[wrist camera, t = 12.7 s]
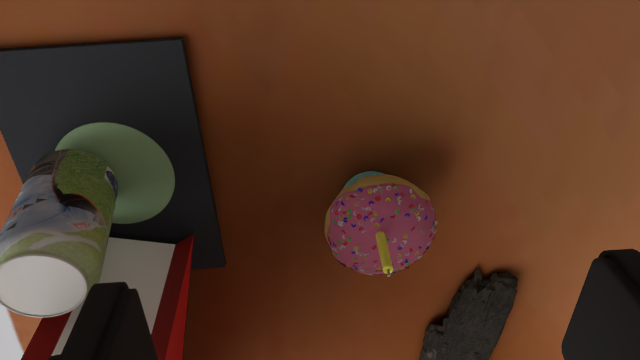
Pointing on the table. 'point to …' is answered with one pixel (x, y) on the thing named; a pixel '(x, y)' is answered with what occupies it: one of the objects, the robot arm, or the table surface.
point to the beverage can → (57, 234)
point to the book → (153, 288)
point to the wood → (472, 320)
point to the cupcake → (379, 223)
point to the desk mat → (119, 131)
